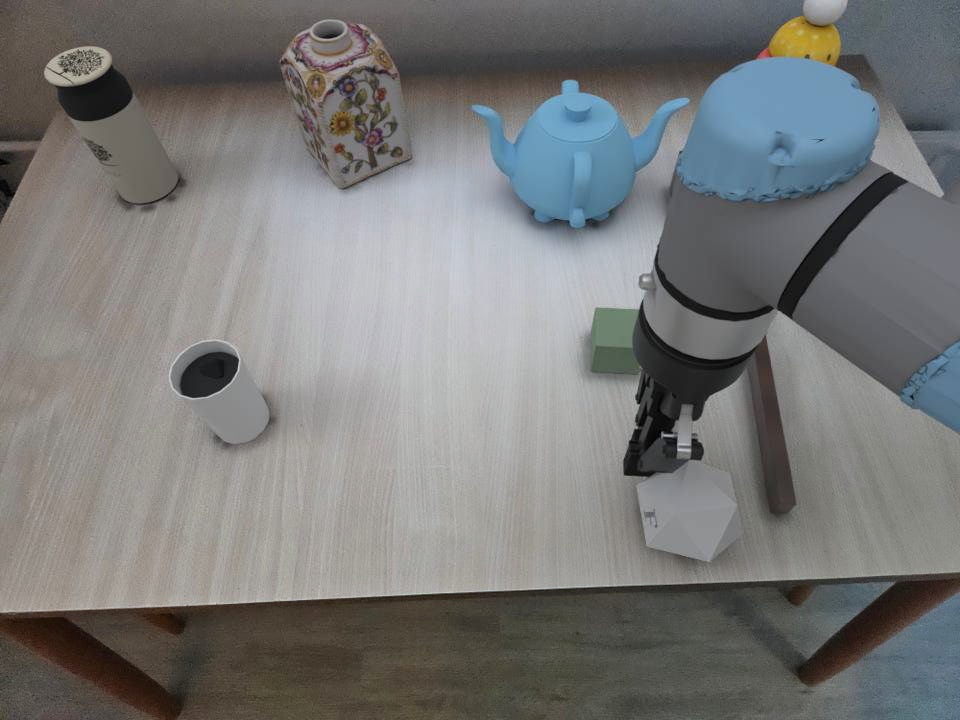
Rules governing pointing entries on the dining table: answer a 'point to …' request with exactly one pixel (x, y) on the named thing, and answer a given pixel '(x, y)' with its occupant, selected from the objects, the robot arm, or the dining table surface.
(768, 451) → the rail
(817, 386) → the dining table surface
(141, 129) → the travel mug
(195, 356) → the white cup
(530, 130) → the teapot
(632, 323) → the sage block
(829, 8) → the stacking toy
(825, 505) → the dining table surface
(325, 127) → the decorative jar
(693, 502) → the die
